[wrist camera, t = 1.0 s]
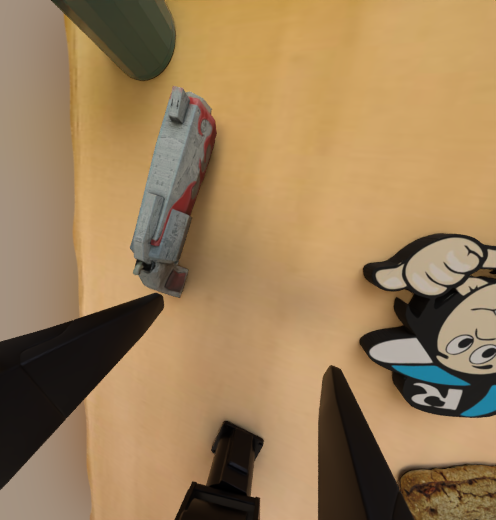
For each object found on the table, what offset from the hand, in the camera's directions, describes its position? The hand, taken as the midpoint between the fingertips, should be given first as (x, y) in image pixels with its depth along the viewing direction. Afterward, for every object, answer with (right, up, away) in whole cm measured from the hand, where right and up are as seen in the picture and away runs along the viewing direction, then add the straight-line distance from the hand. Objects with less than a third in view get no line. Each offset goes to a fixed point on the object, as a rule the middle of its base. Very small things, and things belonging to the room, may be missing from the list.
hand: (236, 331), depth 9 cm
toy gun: (-6, +9, +14) cm, 17 cm away
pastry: (+29, -28, +15) cm, 43 cm away
